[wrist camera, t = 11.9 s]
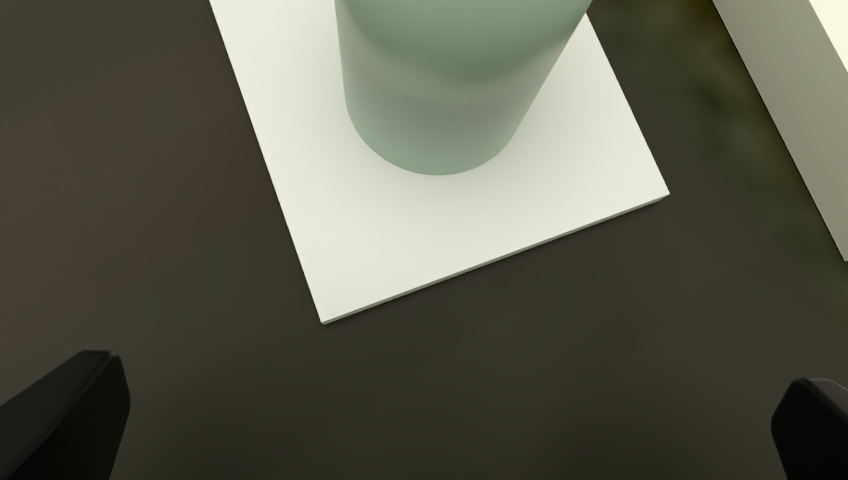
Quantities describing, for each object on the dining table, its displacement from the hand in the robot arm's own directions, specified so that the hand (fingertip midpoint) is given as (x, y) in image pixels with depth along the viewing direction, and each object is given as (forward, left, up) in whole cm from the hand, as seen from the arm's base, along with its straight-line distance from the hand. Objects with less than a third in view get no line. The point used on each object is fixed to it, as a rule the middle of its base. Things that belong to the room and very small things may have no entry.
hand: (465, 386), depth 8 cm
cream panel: (+7, -3, -8) cm, 11 cm away
